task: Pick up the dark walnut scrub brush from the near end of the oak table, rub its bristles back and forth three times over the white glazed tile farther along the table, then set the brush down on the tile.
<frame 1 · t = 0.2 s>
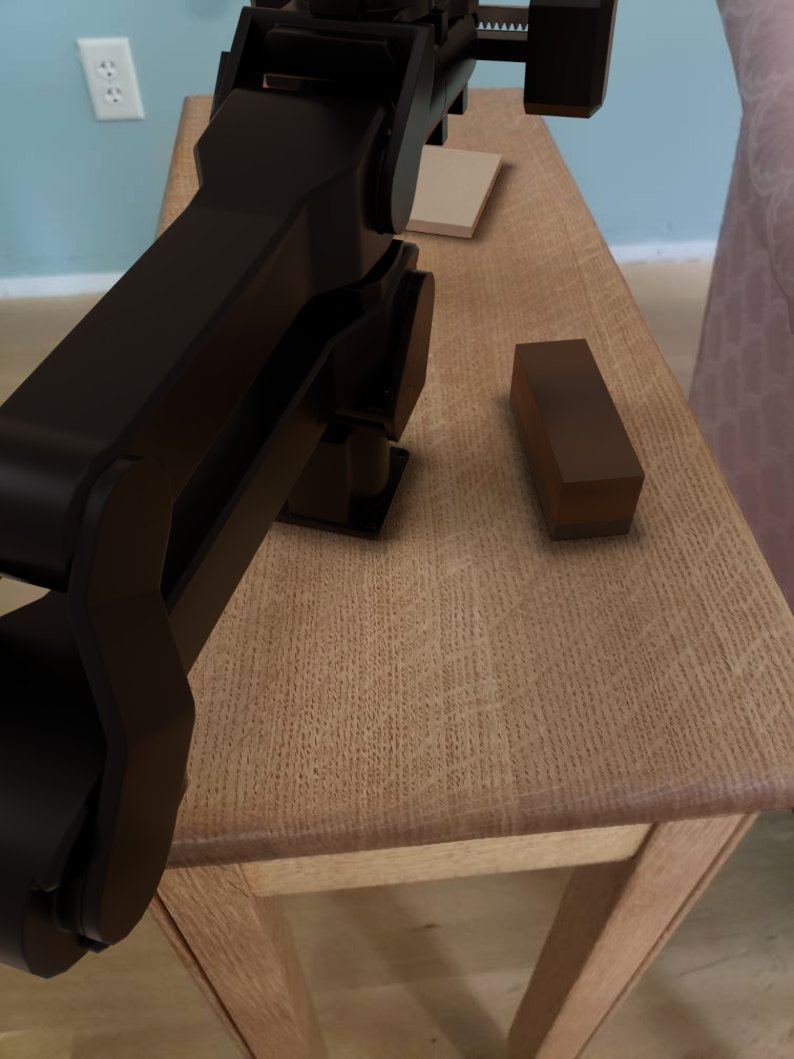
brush: (564, 463, 47), on the table
decorative bird figurine: (277, 185, 69), on the table
tile: (431, 193, 68), on the table
grandmother figurine: (295, 287, 59), on the table
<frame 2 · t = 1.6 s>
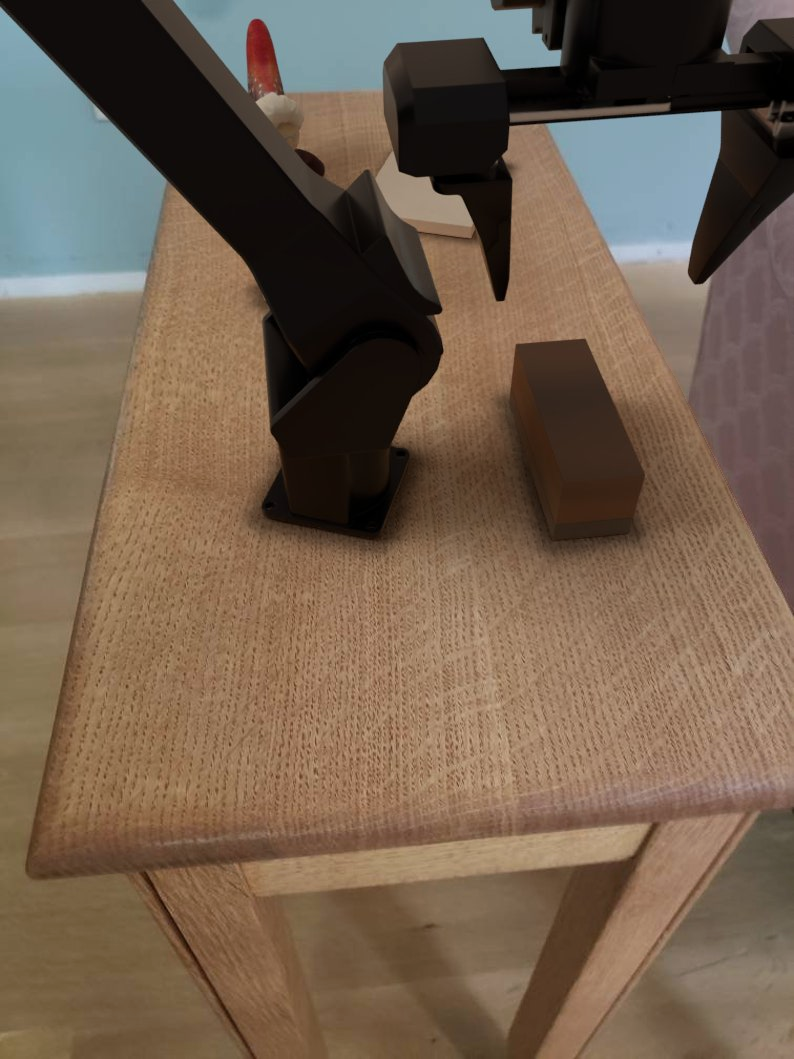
hand: (597, 287, 39), 11 cm above the table, tool pointing down, fingers open, 9 cm apart
nothing on the table moved.
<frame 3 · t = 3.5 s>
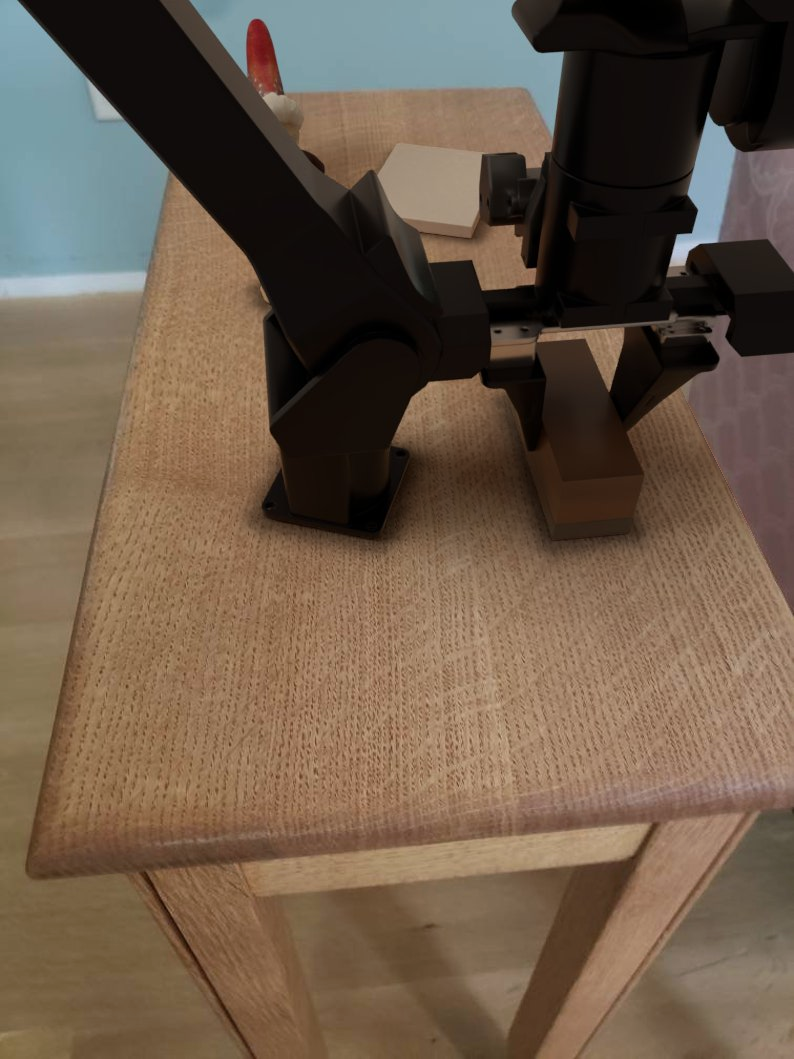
hand: (568, 442, 46), 2 cm above the table, tool pointing down, fingers closed on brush, 4 cm apart
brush: (564, 463, 47), on the table, touching gripper
everything else where it was.
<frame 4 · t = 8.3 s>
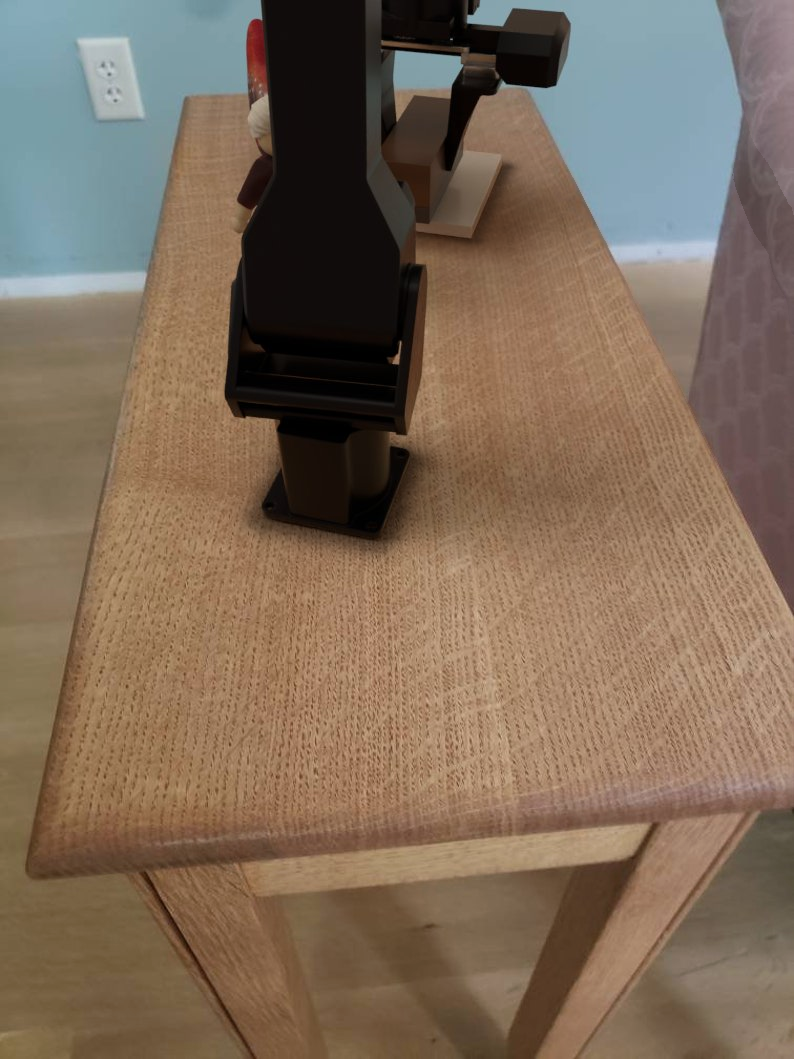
hand: (421, 165, 63), 4 cm above the table, tool pointing down, fingers closed on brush, 4 cm apart
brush: (421, 185, 64), point 2 cm above the table, touching gripper
everything else where it was.
when the fingers open (2 cm above the table, at t = 13.6 s): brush stays where it is, resting on tile.
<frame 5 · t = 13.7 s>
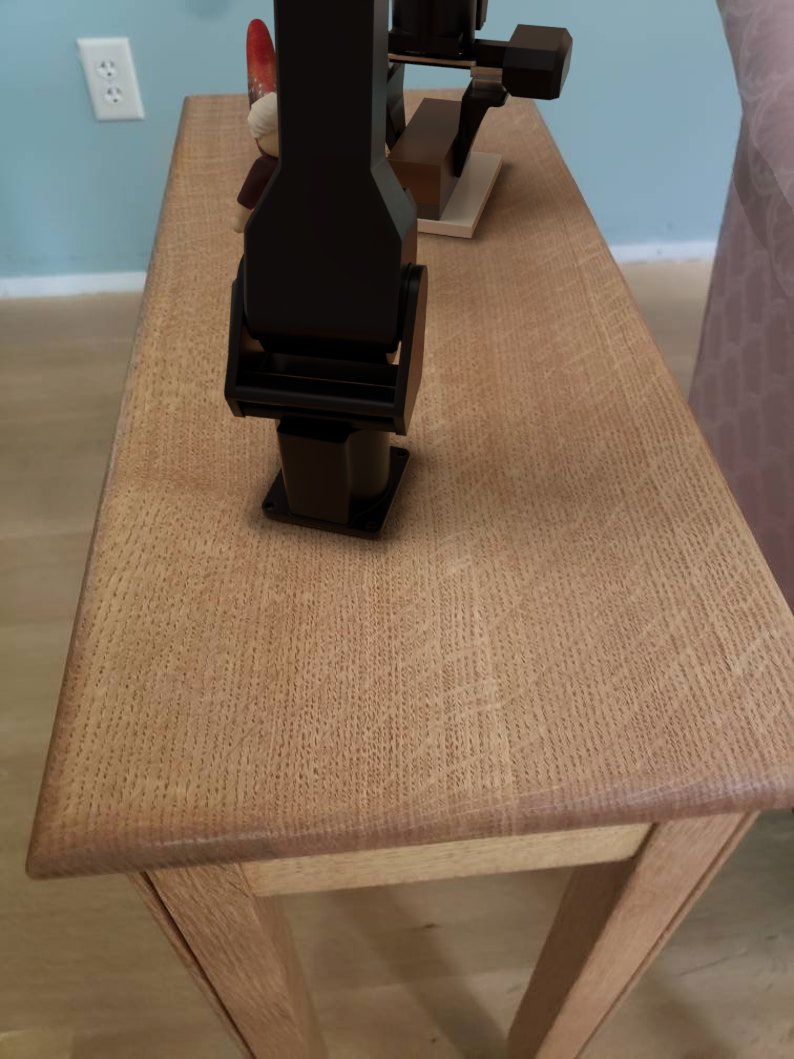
hand: (430, 172, 66), 2 cm above the table, tool pointing down, fingers open, 4 cm apart
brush: (430, 183, 67), point 1 cm above the table, touching tile
everything else where it was.
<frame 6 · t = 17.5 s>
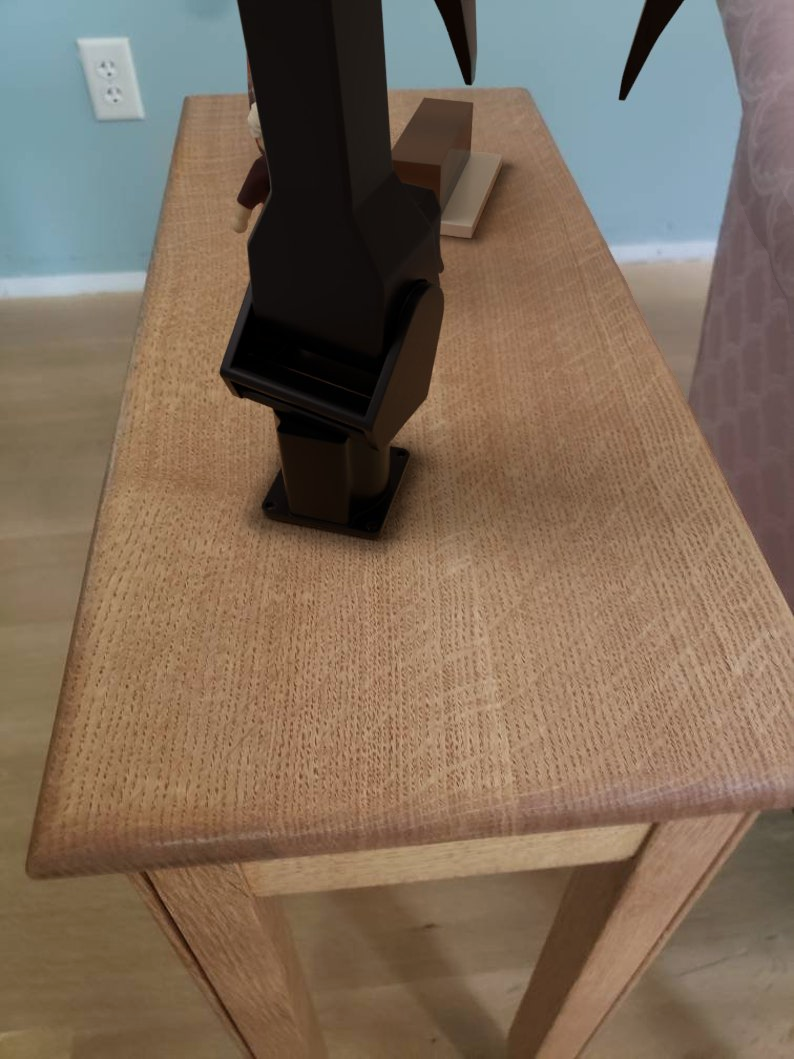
hand: (544, 90, 51), 12 cm above the table, tool pointing down, fingers open, 9 cm apart
nothing on the table moved.
at the end: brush inside the target area on the tile (0.4 cm from its centre), point 1.0 cm above the tile's base; the gripper is holding nothing; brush tilted 0° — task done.
